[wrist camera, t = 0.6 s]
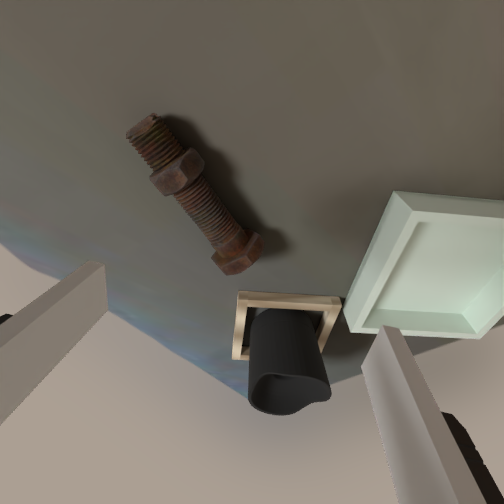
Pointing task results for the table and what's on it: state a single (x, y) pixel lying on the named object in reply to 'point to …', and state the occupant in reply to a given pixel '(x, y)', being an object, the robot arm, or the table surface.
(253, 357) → the pen holder
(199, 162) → the bolt
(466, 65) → the table surface
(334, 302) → the square wooden frame
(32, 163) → the table surface
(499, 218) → the bin
